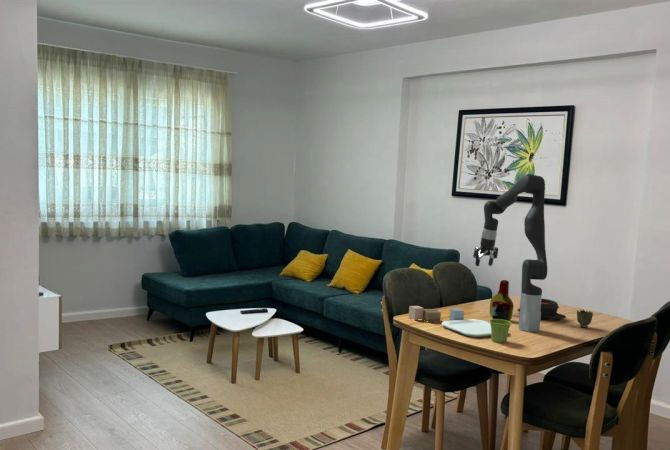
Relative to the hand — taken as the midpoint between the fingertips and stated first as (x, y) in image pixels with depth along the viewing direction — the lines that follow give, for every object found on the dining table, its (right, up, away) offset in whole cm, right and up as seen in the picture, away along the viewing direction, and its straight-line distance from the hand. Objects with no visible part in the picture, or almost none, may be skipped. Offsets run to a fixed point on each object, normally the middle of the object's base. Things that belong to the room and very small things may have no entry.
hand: (483, 265), depth 330 cm
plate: (-17, -27, -51) cm, 60 cm away
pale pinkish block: (-42, -24, -35) cm, 59 cm away
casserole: (+27, -26, -14) cm, 40 cm away
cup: (+41, -28, -33) cm, 60 cm away
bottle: (+2, -25, -25) cm, 36 cm away
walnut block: (-34, -24, -36) cm, 55 cm away
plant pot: (-10, -28, -68) cm, 74 cm away
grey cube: (-22, -25, -36) cm, 49 cm away
